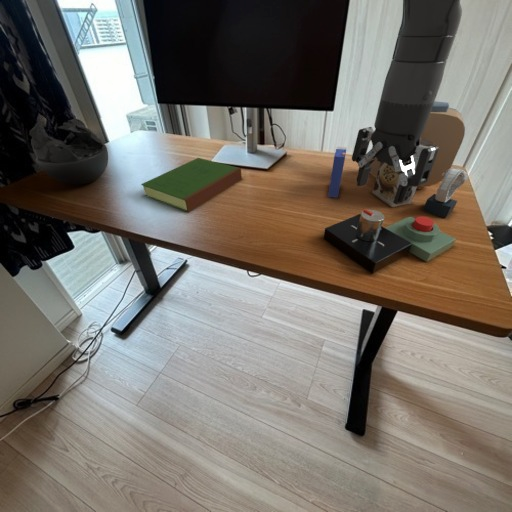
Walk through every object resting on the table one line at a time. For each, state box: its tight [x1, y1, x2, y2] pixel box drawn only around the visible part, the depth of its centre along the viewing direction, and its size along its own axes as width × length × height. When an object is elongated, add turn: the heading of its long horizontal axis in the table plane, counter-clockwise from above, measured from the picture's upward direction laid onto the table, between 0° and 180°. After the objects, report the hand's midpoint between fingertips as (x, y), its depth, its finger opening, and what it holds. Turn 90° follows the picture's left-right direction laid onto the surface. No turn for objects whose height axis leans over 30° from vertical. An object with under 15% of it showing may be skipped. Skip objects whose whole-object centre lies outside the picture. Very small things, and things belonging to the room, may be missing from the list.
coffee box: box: [371, 138, 434, 208], centre depth 70 cm, size 9×6×16 cm
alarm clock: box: [370, 100, 466, 190], centre depth 76 cm, size 21×10×22 cm, turn 63°
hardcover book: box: [140, 157, 243, 213], centre depth 84 cm, size 25×19×4 cm
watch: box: [422, 167, 469, 219], centre depth 66 cm, size 6×8×11 cm
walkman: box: [327, 146, 348, 199], centre depth 76 cm, size 8×3×12 cm, turn 162°
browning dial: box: [356, 208, 385, 241], centre depth 56 cm, size 4×4×5 cm
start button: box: [413, 216, 435, 232], centre depth 57 cm, size 4×4×2 cm
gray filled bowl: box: [28, 118, 109, 186], centre depth 85 cm, size 20×20×19 cm
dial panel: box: [322, 213, 412, 275], centre depth 58 cm, size 14×11×3 cm
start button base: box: [385, 215, 457, 263], centre depth 59 cm, size 11×9×4 cm
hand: (378, 193), depth 51 cm, fingers open, 8 cm apart
